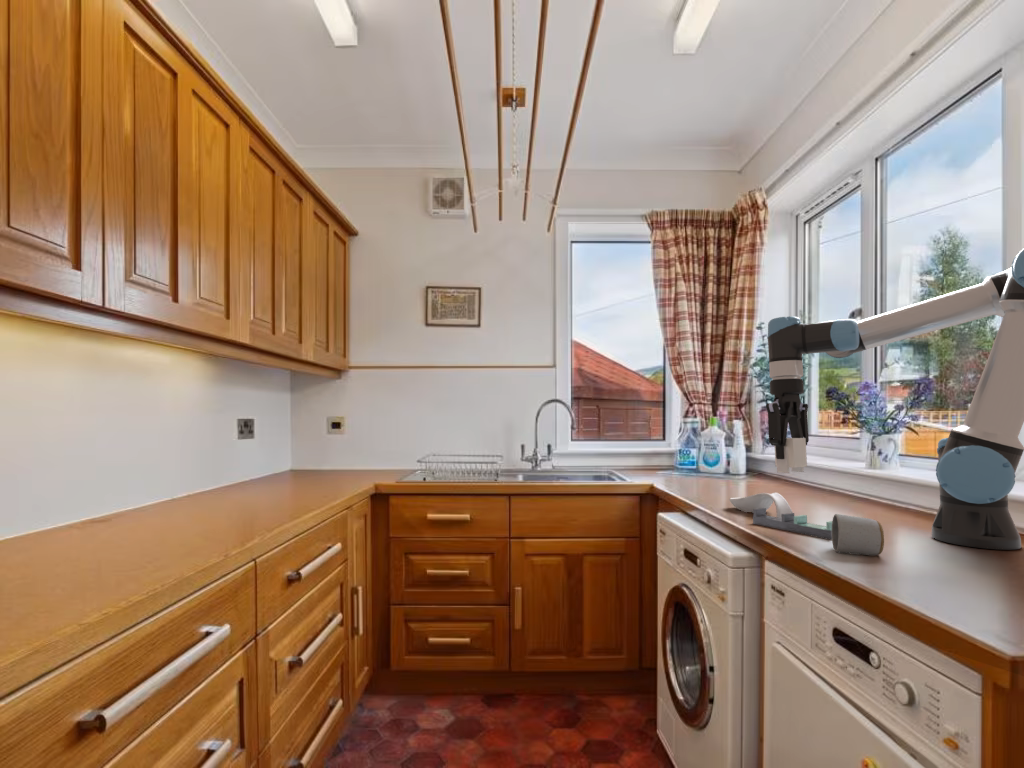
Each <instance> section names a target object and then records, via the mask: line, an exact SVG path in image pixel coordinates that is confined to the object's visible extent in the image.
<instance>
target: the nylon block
mask: <svg viewBox="0 0 1024 768" xmlns="http://www.w3.org/2000/svg"><path fill="white" fill-rule="evenodd" d="M785 446H788V455H789V468H791V467H793V468H795V467H804V468H805V467H806V468H807V467H808V461H807V460H808V458H807V445H806V438H791V437H786V445H785ZM774 460H775V464H774V465H775V467H777V458H776V446H774Z"/></svg>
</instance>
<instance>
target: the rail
mask: <svg viewBox="0 0 1024 768" xmlns="http://www.w3.org/2000/svg"><path fill="white" fill-rule="evenodd" d="M753 511H754V513H753V515H752V525H757V526H762V527H766V528H772V529H778V530H781V531H786V532H787V531H788V532H792V533H797V534H801V533H802V535H806V534H807V536H811V535H812V537H816V536H817V537H816V538H821V537H822V538H821V539H825V538H827V539H826V540H830V539H832V521H833V520H831V521H829V520H828V521H826V524H825V525H820V524H815V523H812V522H811V523H810V522H808V515H806V514H799V515H795V512H793V513H785V514H782V518H778V517H777V516H771V515H767V510H766V508H758V509H753Z"/></svg>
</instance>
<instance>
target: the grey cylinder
mask: <svg viewBox="0 0 1024 768" xmlns="http://www.w3.org/2000/svg"><path fill="white" fill-rule="evenodd" d="M831 521H832V540H831V541H832V547H833V551H834V552H835V553H838V552H840V554H842V553H843V554H850V553H851V555H861V554H863V556H879V555H881V554H882V553H883V550H884V548H885V547H884V546H885V534H884V528H883V525H882V524H881V523H880V522H879V521H878V520H875V519H872V518H868V517H859V516H854V515H853V516H852V515H845V514H838V513H835V514H834V515H833V516H832V520H831Z"/></svg>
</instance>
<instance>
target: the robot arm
mask: <svg viewBox="0 0 1024 768" xmlns="http://www.w3.org/2000/svg"><path fill="white" fill-rule="evenodd" d="M1010 266H1011V267H1010V268H1008V269H1006V270H1004V271H1001V272H998V273H996V274H992V275H989V276H986V277H985V279H984V280H983V281H982V283H978V284H975V285H973V286H968V287H965V288H962V289H959V290H956V291H955V290H954V291H952V292H949V293H946V294H943V295H939V296H936V297H933V298H929V299H927V300H926V299H925V300H923V301H920V302H917V303H913V304H909V305H907V306H903V307H901V308H897V309H894V310H890V311H887V312H883V313H880V314H877V315H874V316H870V317H867V318H864V319H860V320H858V321H857V320H856V319H854V318H846V319H841V318H837V320H836V319H835V320H828V321H827V320H826V321H817V322H811V323H805V322H804V323H802V322H801V318H800V317H798V316H795V315H793V316H792V315H791V316H780V317H775V318H772V319H771V320H769V322H768V323H767V338H766V339H767V346H768V347H767V349H768V363H769V378H770V379H771V380H770V381H769V393H770V394H771V395H772V396H773V395H774V398H773V401H772V402H769V403H766V404H765V407H766V412H767V421H768V422H767V423H768V424H767V426H768V427H767V428H768V429H767V430H768V443H769V444H770V445H771V446H773V447H775V446H776V458H777V466H776V472H777V473H781V474H782V473H783V474H790V468H791V472H794V473H795V472H796V473H797V472H798V473H804V472H805V469H804V468H805V467H795V468H793V467H789V455H788V446H785V445H786V438H788V437H787V436H788V427H789V433H790V436H791V437H790V438H806V446H807V445H808V443H809V441H810V439H809V437H810V436H809V423H808V422H809V421H808V410H809V409H808V408H809V404H808V403H803V402H802V401H801V397H800V395H802V394H804V392H805V388H804V385H805V384H804V380H803V379H802V377H804V365H803V355H807V354H808V355H809V354H819V353H820V354H822V353H823V354H824V353H825V354H826V355H828V356H829V357H832V358H834V359H835V358H836V359H844V358H848V357H850V356H852V355H853V354H855V353H860V352H863V351H865V350H866V351H867V350H870V349H875V348H876V347H880V346H884V345H888V344H891V343H894V342H898V341H902V340H907V339H910V338H913V337H918V336H921V335H924V334H929V333H932V332H936V331H939V330H943V329H947V328H950V327H954V326H959V325H962V324H965V323H969V322H973V321H976V320H981V319H983V318H986V317H991V316H998V317H1001V318H1002V320H1001V322H1000V325H999V328H998V331H997V333H996V336H995V339H994V342H993V344H992V347H991V349H990V351H989V355H988V358H987V359H986V363H985V366H984V367H983V370H982V373H981V375H980V378H979V381H978V384H977V386H976V389H975V392H974V394H973V397H972V400H971V403H970V405H969V407H968V410H967V413H966V416H965V418H964V421H963V423H962V424H960V425H958V426H957V427H952V428H951V429H950V432H949V436H948V437H945V438H941V439H940V440H939V441H938V442H937V448H936V453H937V455H938V456H937V457H938V462H937V464H936V466H935V476H936V479H937V482H938V483H939V484H938V485H939V487H938V488H939V507H938V509H937V512H936V515H935V516H934V517H935V518H934V520H933V523H932V525H931V537H932V539H934V538H935V540H937V541H941V542H944V543H948V544H953V545H957V546H963V547H969V548H978V549H988V550H989V549H990V550H1009V551H1011V550H1013V551H1014V550H1019V549H1021V548H1022V539H1021V535H1020V533H1019V531H1018V528H1017V526H1016V524H1015V522H1014V519H1013V518H1012V516H1011V513H1010V510H1009V502H1008V501H1009V496H1008V494H1010V493H1011V491H1012V490H1013V489H1014V486H1015V485H1016V479H1015V478H1016V471H1017V468H1018V467H1019V464H1020V461H1021V458H1022V456H1023V454H1024V445H1023V444H1022V443H1021V441H1020V439H1019V435H1020V434H1021V433H1020V432H1021V431H1022V428H1023V425H1024V247H1023V248H1022V249H1021V250H1020V251H1018V253H1017V254H1016V255H1015V256H1014V258H1013V261H1012V262H1011V265H1010Z"/></svg>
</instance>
